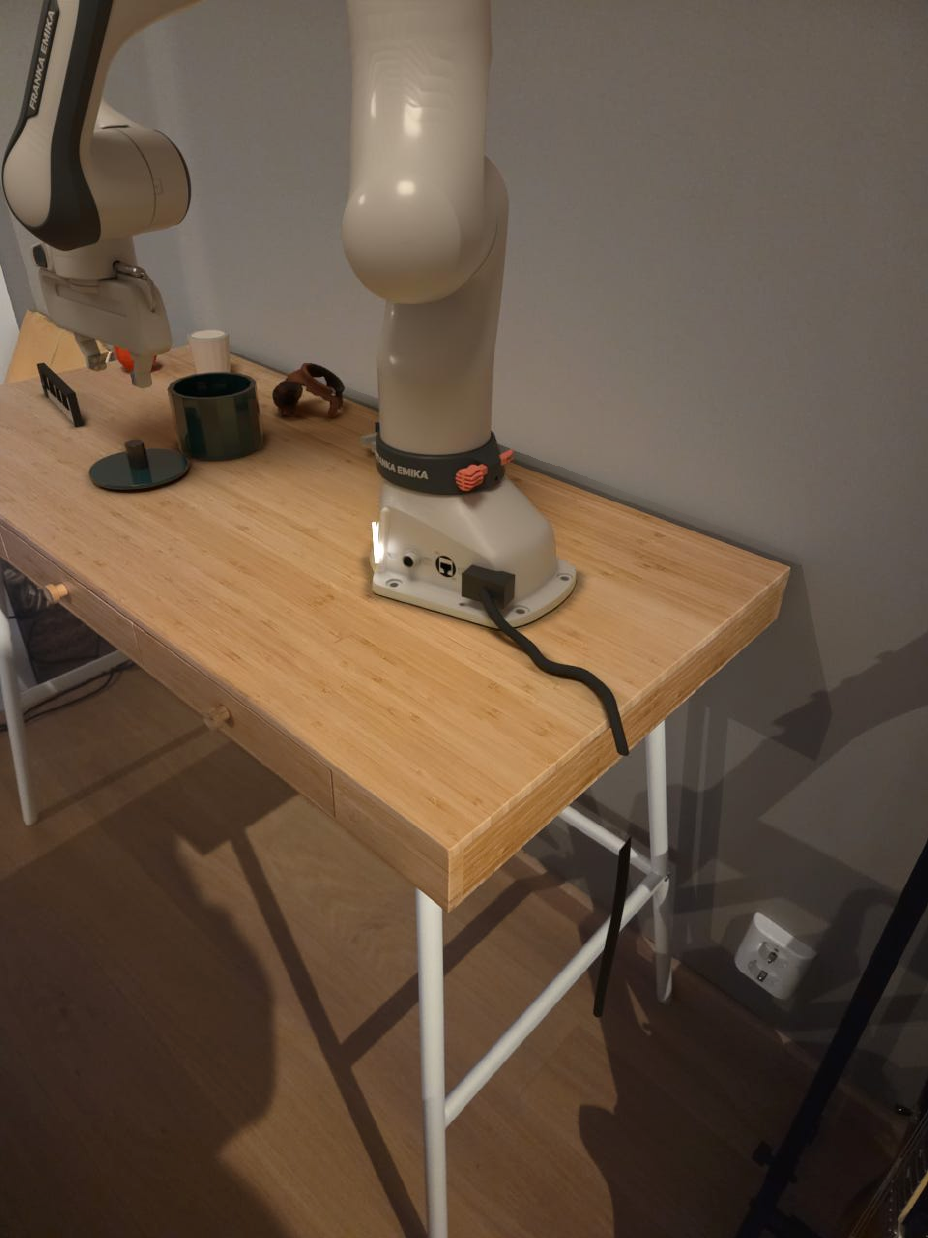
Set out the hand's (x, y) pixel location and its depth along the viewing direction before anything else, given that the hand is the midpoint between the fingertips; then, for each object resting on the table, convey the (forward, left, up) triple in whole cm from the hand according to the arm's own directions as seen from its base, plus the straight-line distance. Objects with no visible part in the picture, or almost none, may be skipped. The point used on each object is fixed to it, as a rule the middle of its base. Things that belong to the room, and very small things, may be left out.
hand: (119, 377), depth 101 cm
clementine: (+38, -25, -13) cm, 47 cm away
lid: (0, 0, -12) cm, 12 cm away
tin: (0, -13, -13) cm, 18 cm away
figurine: (-22, -29, -13) cm, 39 cm away
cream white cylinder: (+26, -32, -13) cm, 43 cm away
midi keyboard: (+30, -7, -13) cm, 33 cm away
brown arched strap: (0, -29, -13) cm, 31 cm away
